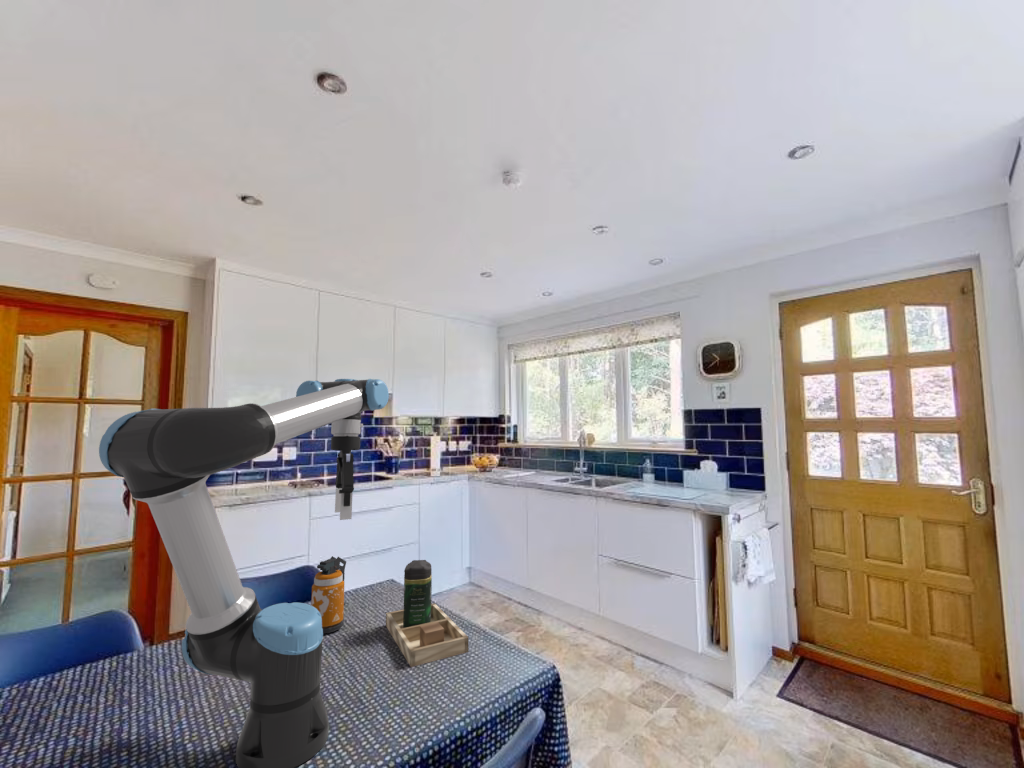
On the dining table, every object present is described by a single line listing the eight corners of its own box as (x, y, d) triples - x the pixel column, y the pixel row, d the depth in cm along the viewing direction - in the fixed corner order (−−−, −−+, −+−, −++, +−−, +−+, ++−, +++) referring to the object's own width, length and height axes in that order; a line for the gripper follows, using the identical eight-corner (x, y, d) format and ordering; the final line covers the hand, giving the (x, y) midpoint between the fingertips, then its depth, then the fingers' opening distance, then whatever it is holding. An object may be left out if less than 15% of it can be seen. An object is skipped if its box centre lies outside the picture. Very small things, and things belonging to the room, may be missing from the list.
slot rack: (468, 655, 113) (468, 637, 114) (410, 670, 106) (411, 651, 107) (434, 617, 137) (434, 603, 137) (385, 628, 130) (386, 612, 130)
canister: (303, 634, 127) (305, 561, 129) (329, 618, 137) (331, 552, 140) (329, 637, 124) (331, 563, 127) (354, 621, 135) (355, 553, 137)
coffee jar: (430, 635, 123) (431, 566, 125) (401, 637, 122) (402, 567, 124) (431, 621, 133) (432, 557, 135) (404, 623, 131) (405, 558, 134)
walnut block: (444, 649, 115) (444, 628, 116) (425, 653, 113) (425, 633, 113) (437, 641, 119) (437, 621, 120) (419, 645, 117) (419, 625, 118)
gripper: (367, 434, 111) (364, 521, 109) (354, 436, 133) (351, 508, 131) (335, 434, 108) (331, 524, 105) (327, 436, 130) (324, 510, 127)
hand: (342, 515), depth 118 cm, fingers open, 13 cm apart
